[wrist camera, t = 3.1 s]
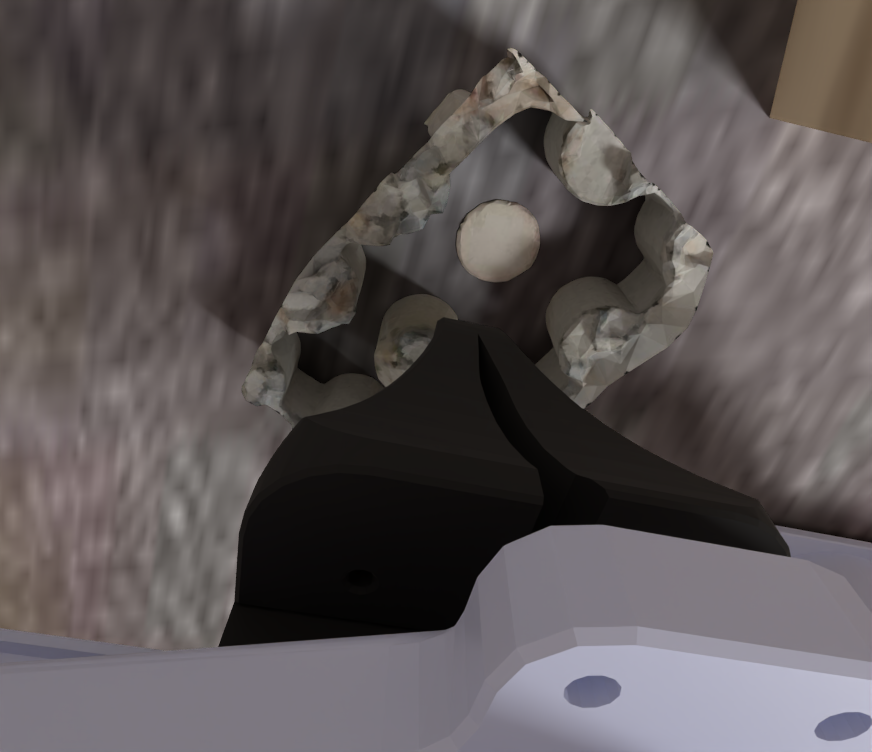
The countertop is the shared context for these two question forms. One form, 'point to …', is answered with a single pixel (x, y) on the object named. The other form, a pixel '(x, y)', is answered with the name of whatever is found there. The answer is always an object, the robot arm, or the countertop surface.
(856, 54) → the maple block
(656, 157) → the countertop surface
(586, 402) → the grey lobed hollow piece
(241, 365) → the countertop surface
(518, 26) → the countertop surface
